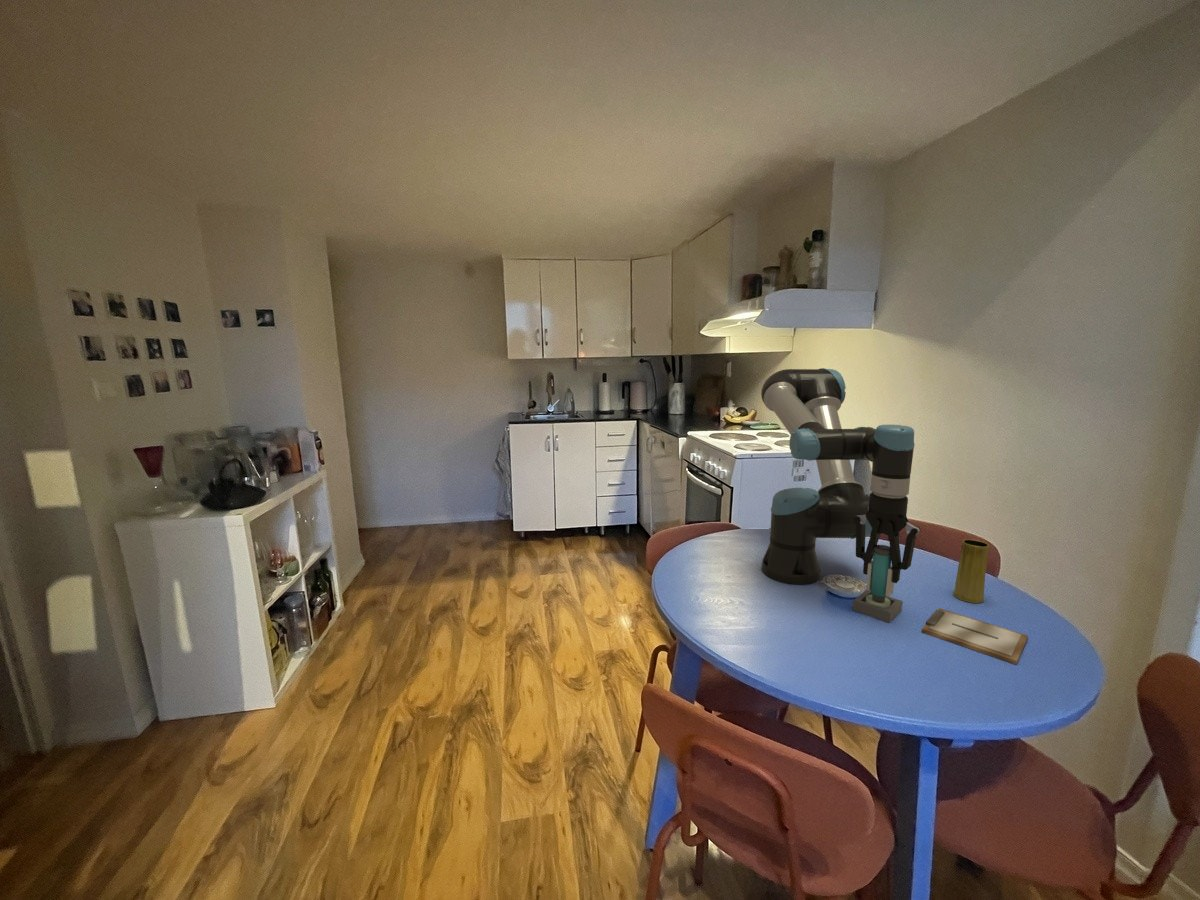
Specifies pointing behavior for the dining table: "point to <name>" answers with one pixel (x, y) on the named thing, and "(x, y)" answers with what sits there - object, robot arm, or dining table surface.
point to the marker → (880, 572)
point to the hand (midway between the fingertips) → (879, 591)
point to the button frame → (877, 607)
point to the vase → (971, 571)
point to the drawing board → (976, 635)
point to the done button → (883, 605)
